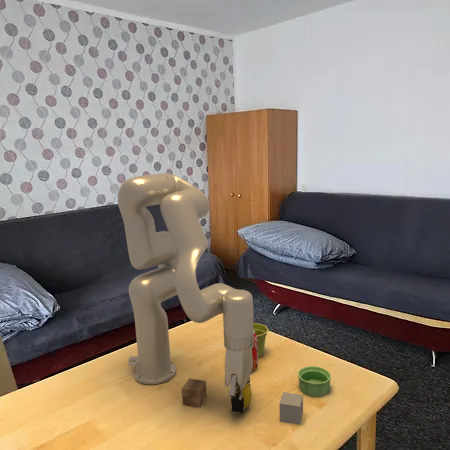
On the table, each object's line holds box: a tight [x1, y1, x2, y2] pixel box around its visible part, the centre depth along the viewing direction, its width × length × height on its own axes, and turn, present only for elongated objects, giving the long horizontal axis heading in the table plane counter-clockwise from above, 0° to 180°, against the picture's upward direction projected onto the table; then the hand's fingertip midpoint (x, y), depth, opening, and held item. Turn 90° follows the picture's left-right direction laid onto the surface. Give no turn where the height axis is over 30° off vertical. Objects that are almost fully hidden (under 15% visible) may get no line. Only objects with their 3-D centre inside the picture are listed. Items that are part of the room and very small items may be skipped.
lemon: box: [229, 383, 253, 409], centre depth 108 cm, size 6×6×8 cm
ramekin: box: [297, 365, 332, 397], centre depth 116 cm, size 9×9×4 cm
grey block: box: [278, 391, 304, 426], centre depth 105 cm, size 5×5×5 cm
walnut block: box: [181, 378, 208, 409], centre depth 113 cm, size 5×5×5 cm
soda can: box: [252, 330, 259, 372], centre depth 128 cm, size 7×7×12 cm
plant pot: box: [253, 322, 269, 358], centre depth 137 cm, size 9×9×9 cm
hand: (241, 404), depth 109 cm, fingers closed on lemon, 5 cm apart
